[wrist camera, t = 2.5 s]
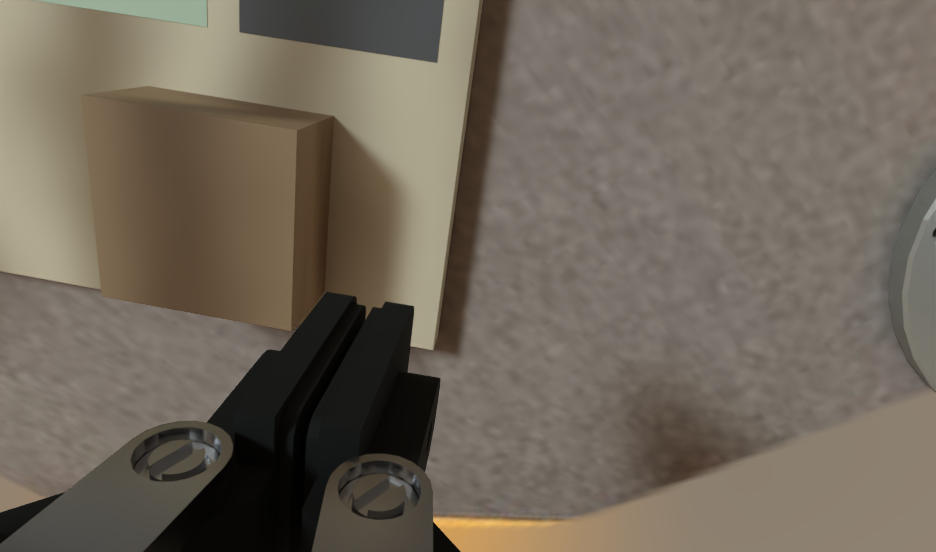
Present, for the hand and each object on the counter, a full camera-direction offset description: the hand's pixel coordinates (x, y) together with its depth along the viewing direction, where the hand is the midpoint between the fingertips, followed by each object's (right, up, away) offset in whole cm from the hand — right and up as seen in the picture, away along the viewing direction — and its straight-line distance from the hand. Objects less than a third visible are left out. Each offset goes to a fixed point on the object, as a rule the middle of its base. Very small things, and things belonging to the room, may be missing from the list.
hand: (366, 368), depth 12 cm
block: (-6, +5, +8) cm, 11 cm away
